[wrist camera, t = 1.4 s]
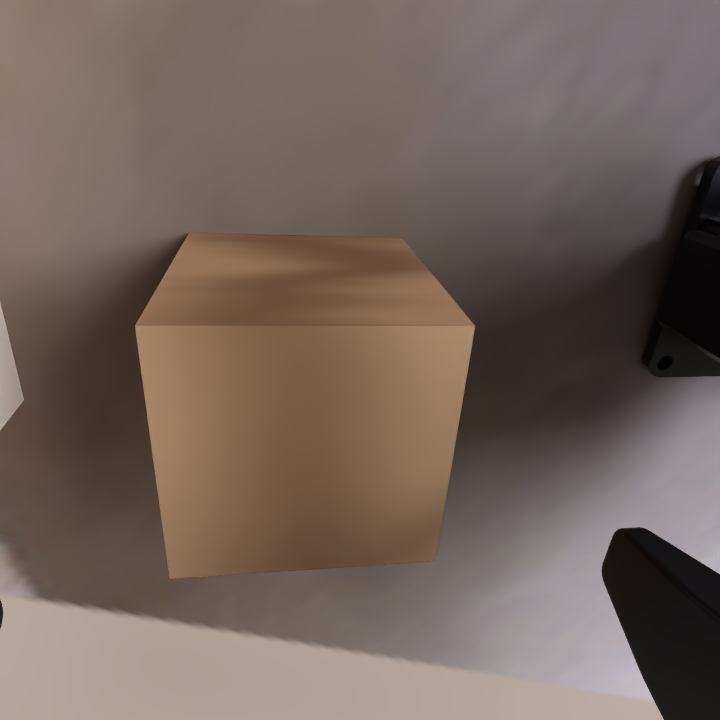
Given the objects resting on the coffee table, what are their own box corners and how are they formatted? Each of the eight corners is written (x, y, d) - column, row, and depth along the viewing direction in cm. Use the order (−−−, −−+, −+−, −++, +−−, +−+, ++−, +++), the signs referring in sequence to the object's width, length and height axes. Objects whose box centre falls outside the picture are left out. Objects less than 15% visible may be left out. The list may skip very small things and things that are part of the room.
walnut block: (402, 237, 14) (475, 325, 9) (385, 412, 17) (435, 561, 12) (189, 232, 14) (134, 325, 8) (204, 416, 16) (169, 579, 11)
